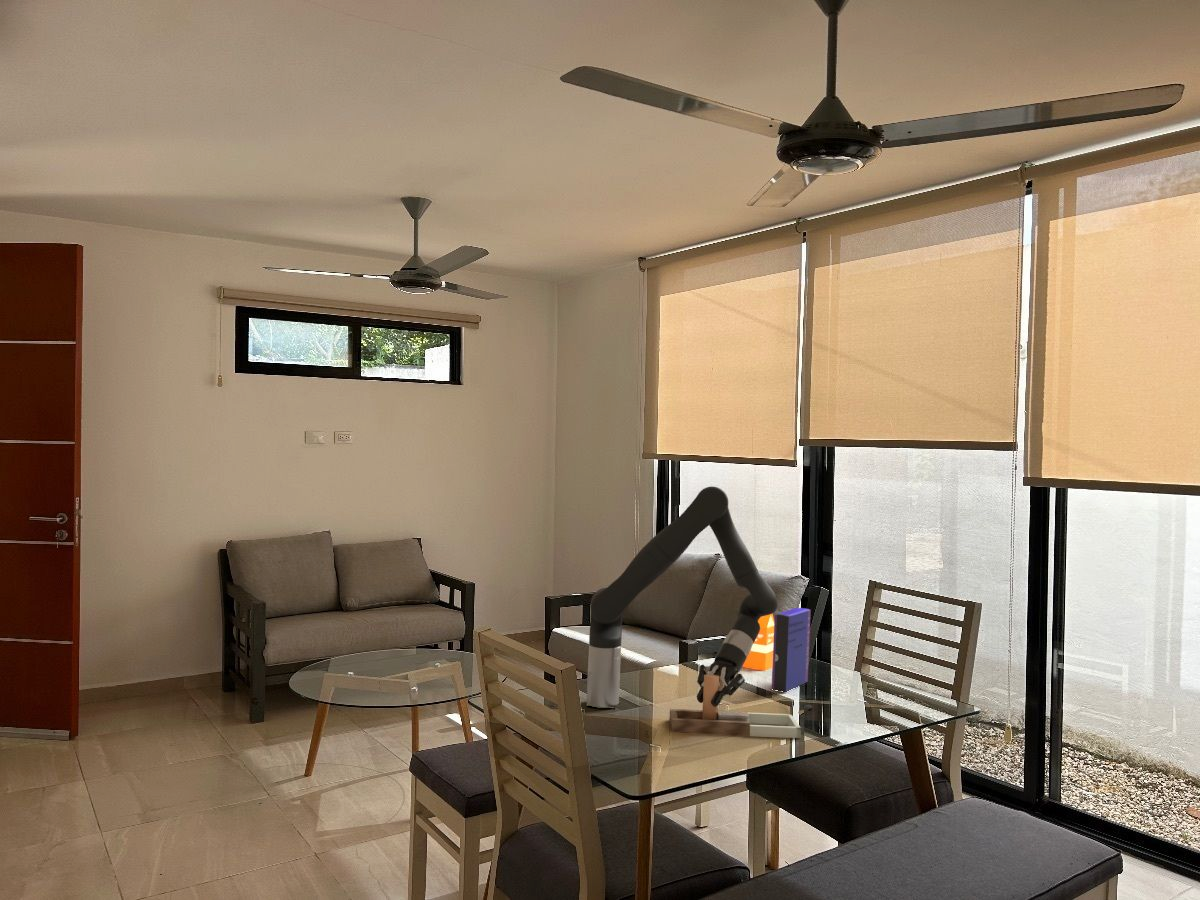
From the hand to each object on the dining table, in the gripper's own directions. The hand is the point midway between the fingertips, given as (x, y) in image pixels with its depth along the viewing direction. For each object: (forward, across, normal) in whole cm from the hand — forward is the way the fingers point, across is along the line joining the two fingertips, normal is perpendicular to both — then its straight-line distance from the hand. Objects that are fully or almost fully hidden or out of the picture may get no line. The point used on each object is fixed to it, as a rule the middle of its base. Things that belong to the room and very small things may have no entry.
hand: (706, 702), depth 237 cm
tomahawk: (-17, +9, +30) cm, 35 cm away
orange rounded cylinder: (+2, 0, +5) cm, 6 cm away
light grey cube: (+2, +3, +8) cm, 9 cm away
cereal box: (-37, -11, +48) cm, 62 cm away
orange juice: (-47, -32, +58) cm, 81 cm away
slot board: (+4, 0, +7) cm, 8 cm away
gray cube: (0, +6, +10) cm, 12 cm away
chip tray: (-4, +12, +15) cm, 19 cm away
